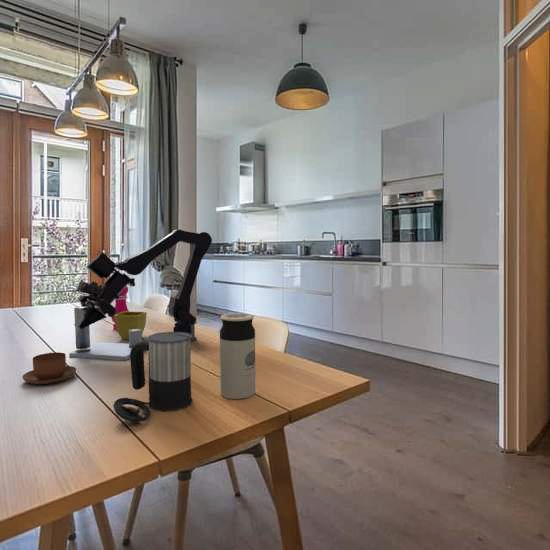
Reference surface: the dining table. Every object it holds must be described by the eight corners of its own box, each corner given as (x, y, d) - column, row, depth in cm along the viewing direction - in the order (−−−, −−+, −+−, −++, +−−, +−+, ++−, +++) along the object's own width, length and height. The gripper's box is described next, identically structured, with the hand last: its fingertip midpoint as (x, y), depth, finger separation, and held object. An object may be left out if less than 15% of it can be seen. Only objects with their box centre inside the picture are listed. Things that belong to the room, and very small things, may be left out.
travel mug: (213, 393, 94) (212, 315, 92) (240, 385, 99) (239, 311, 98) (235, 403, 88) (234, 320, 87) (262, 393, 94) (262, 315, 92)
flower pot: (148, 335, 154) (147, 311, 153) (138, 340, 145) (137, 315, 145) (125, 334, 155) (124, 311, 154) (114, 340, 146) (113, 315, 146)
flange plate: (149, 348, 134) (149, 329, 134) (125, 360, 121) (124, 339, 120) (98, 345, 138) (97, 327, 138) (69, 356, 125) (68, 336, 124)
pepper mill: (124, 330, 162) (123, 280, 161) (108, 329, 164) (106, 280, 162) (134, 327, 169) (133, 278, 168) (118, 326, 171) (117, 278, 169)
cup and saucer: (28, 375, 108) (27, 352, 107) (78, 370, 112) (77, 348, 111) (17, 391, 96) (16, 365, 96) (74, 384, 101) (73, 360, 100)
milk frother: (196, 395, 93) (195, 330, 92) (183, 426, 77) (181, 349, 76) (133, 396, 92) (131, 331, 91) (106, 427, 77) (103, 349, 76)
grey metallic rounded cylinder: (93, 346, 129) (91, 306, 128) (84, 349, 125) (82, 308, 124) (81, 345, 129) (80, 306, 128) (73, 348, 125) (71, 308, 124)
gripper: (83, 270, 135) (47, 307, 128) (104, 273, 121) (65, 314, 114) (108, 292, 141) (75, 328, 134) (131, 297, 127) (96, 337, 120)
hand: (77, 327), depth 126 cm, fingers closed on grey metallic rounded cylinder, 4 cm apart
